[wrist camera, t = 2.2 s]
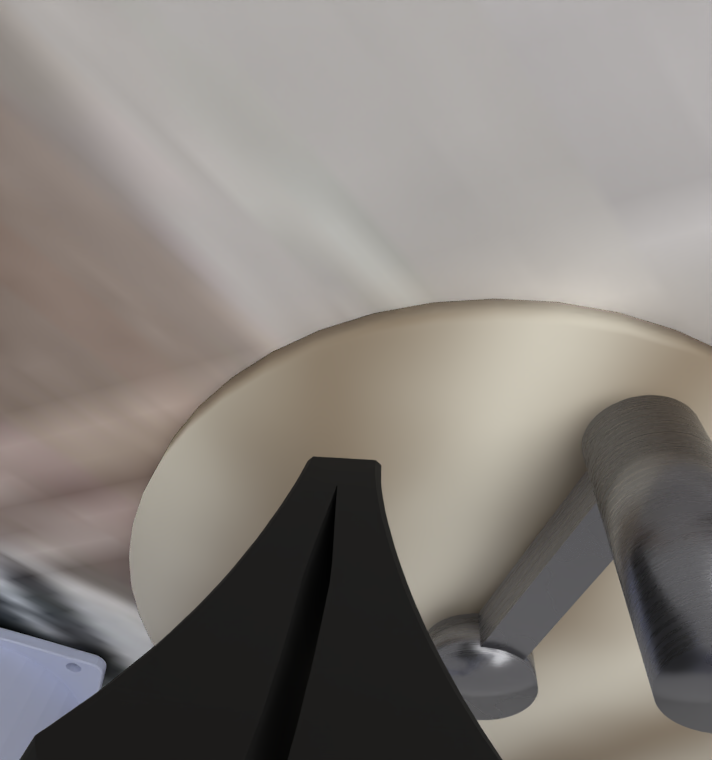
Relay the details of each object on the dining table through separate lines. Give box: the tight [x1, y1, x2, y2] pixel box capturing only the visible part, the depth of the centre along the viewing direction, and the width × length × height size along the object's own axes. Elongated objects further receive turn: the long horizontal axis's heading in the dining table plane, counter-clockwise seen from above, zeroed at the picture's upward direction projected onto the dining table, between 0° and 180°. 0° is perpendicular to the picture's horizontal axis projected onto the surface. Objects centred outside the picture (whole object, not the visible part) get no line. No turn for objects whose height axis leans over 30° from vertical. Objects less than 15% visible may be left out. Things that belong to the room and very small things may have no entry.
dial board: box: [129, 299, 712, 760], centre depth 19 cm, size 20×20×1 cm
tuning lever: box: [428, 395, 712, 733], centre depth 14 cm, size 11×3×6 cm, turn 161°
